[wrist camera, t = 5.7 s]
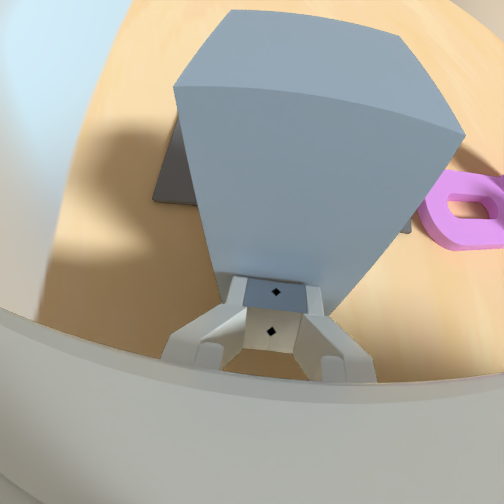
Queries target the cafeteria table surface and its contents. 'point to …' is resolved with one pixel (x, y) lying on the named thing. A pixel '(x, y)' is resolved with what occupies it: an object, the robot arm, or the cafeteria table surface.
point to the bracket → (464, 230)
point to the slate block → (308, 146)
